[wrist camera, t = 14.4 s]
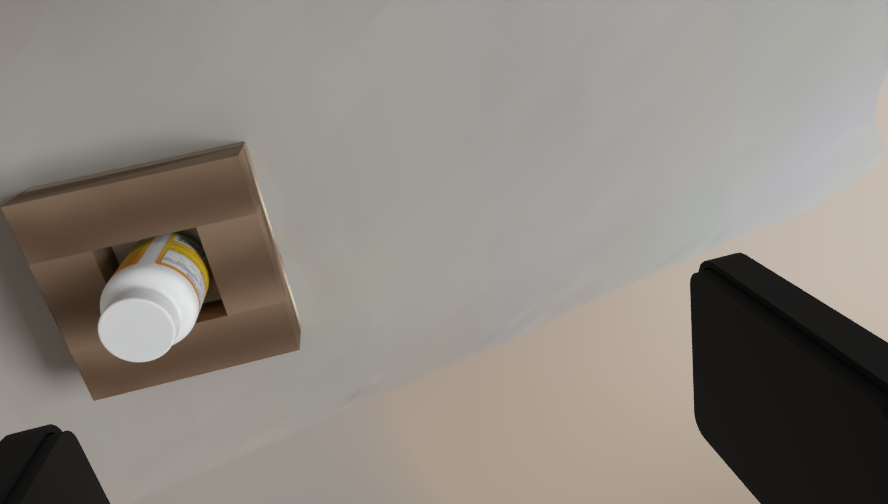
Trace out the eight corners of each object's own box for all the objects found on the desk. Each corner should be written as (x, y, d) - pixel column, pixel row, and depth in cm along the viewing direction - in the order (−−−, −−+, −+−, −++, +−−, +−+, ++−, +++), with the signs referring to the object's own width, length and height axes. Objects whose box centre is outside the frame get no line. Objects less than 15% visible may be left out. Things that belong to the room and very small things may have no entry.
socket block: (28, 188, 42) (0, 207, 38) (245, 141, 43) (238, 155, 39) (111, 369, 47) (93, 400, 44) (301, 322, 49) (299, 349, 45)
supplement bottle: (136, 301, 45) (90, 377, 36) (126, 227, 43) (74, 288, 34) (217, 298, 46) (192, 372, 37) (211, 226, 44) (184, 285, 35)
